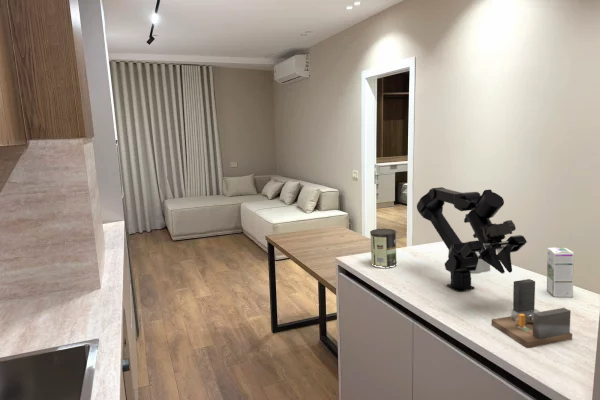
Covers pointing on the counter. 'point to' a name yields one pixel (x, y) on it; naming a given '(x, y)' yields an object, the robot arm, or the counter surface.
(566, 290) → the syrup box
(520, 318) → the cylinder
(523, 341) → the base
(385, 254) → the coffee can
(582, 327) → the counter surface
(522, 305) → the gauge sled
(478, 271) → the grey block
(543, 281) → the counter surface
